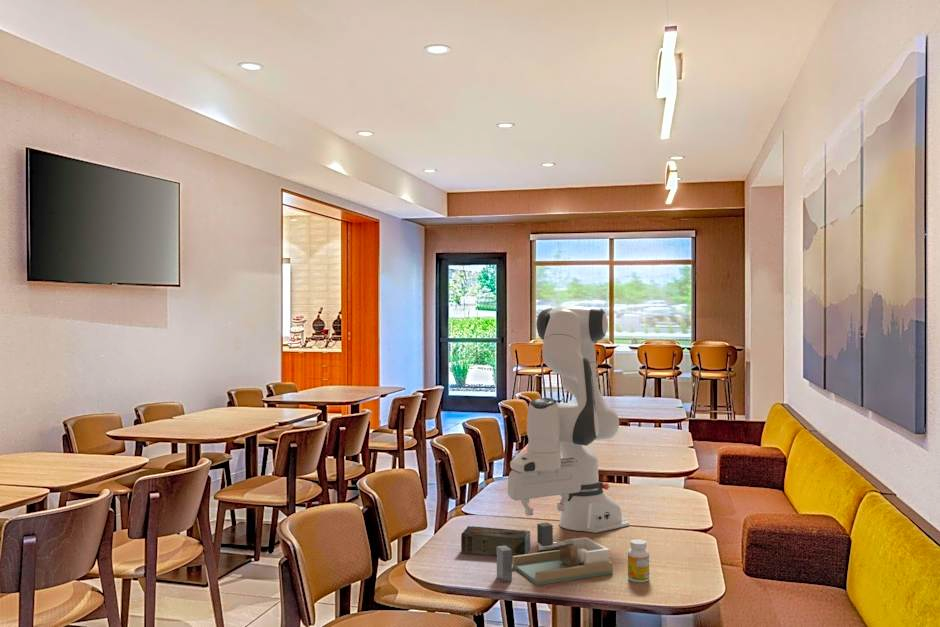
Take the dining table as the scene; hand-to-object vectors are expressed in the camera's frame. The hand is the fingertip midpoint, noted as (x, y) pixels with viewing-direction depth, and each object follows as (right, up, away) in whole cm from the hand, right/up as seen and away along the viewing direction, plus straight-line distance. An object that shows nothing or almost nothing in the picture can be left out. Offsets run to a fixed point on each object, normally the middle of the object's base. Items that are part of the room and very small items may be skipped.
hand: (545, 512), depth 204 cm
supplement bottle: (+23, -16, -6) cm, 29 cm away
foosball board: (+5, -16, +2) cm, 16 cm away
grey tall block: (-11, -16, -5) cm, 20 cm away
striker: (+3, -14, +1) cm, 15 cm away
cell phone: (+4, -16, +18) cm, 24 cm away
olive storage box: (-12, -16, +18) cm, 27 cm away
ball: (+10, -13, +4) cm, 17 cm away
